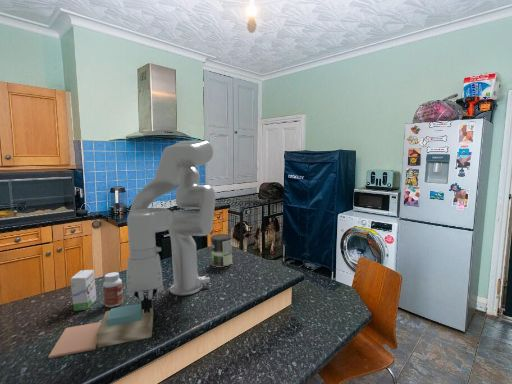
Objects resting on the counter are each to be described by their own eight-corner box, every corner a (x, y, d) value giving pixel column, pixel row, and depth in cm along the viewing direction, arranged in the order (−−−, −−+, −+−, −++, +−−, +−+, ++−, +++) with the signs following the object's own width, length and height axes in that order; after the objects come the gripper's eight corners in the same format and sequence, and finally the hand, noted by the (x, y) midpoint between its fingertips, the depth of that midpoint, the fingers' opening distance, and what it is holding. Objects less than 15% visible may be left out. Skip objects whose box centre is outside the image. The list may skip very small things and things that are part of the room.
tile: (142, 309, 92) (142, 303, 92) (141, 320, 85) (140, 313, 85) (111, 314, 89) (111, 308, 89) (107, 326, 83) (107, 319, 82)
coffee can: (212, 269, 137) (211, 240, 136) (210, 262, 147) (209, 235, 146) (234, 266, 139) (233, 238, 138) (230, 259, 149) (229, 233, 148)
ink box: (88, 309, 101) (85, 277, 100) (72, 311, 100) (69, 278, 99) (97, 298, 109) (94, 268, 108) (83, 300, 109) (80, 270, 108)
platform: (153, 315, 96) (152, 303, 95) (151, 337, 84) (150, 324, 83) (106, 323, 92) (105, 311, 91) (97, 347, 79) (96, 333, 79)
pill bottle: (121, 306, 103) (119, 276, 102) (102, 309, 101) (99, 278, 100) (125, 298, 109) (122, 270, 108) (107, 300, 107) (105, 272, 106)
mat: (105, 322, 92) (105, 321, 92) (95, 349, 79) (95, 347, 79) (66, 329, 89) (65, 327, 89) (48, 358, 75) (48, 356, 75)
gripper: (168, 246, 93) (171, 301, 95) (117, 252, 88) (122, 309, 90) (169, 253, 86) (172, 312, 87) (114, 259, 81) (118, 321, 83)
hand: (147, 310), depth 89 cm, fingers closed
